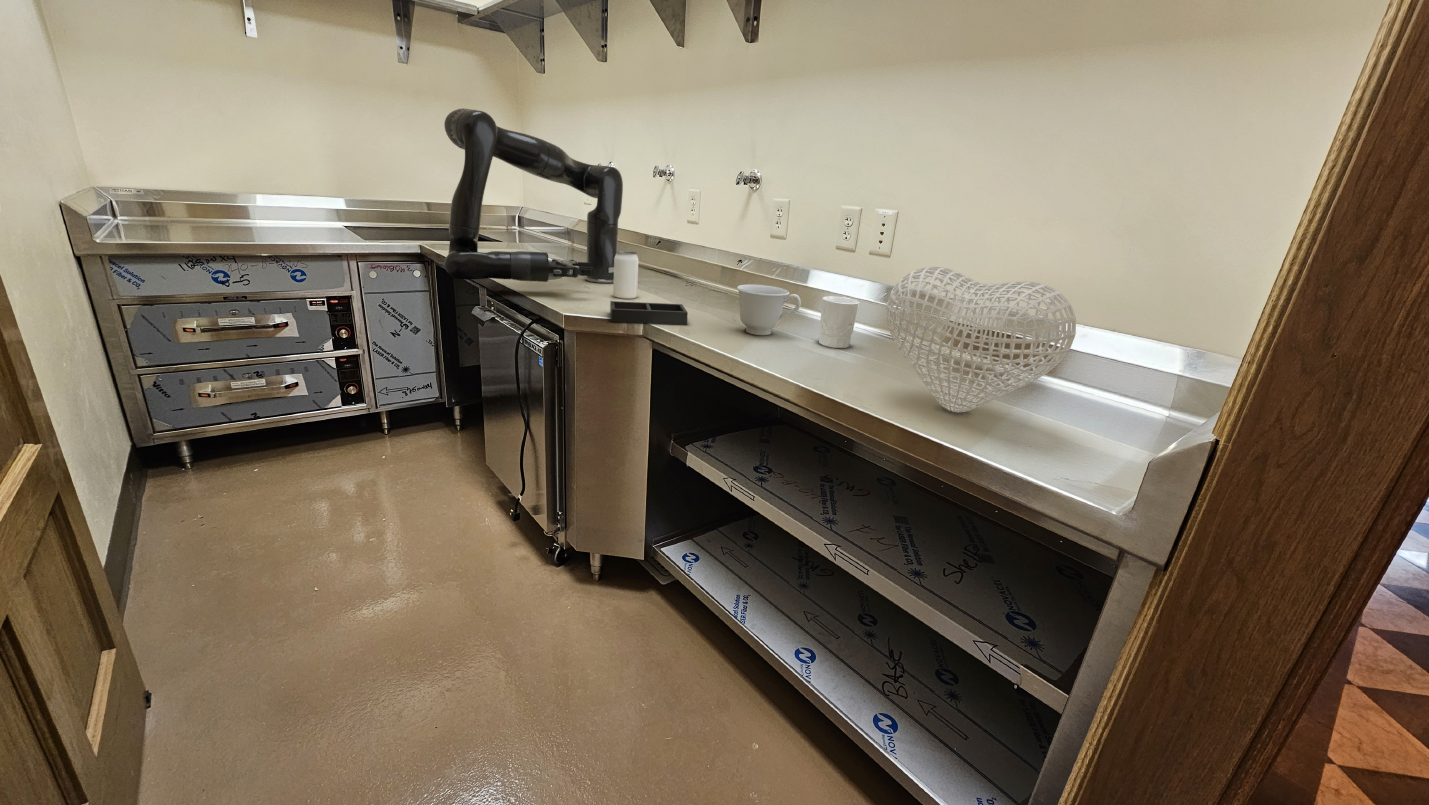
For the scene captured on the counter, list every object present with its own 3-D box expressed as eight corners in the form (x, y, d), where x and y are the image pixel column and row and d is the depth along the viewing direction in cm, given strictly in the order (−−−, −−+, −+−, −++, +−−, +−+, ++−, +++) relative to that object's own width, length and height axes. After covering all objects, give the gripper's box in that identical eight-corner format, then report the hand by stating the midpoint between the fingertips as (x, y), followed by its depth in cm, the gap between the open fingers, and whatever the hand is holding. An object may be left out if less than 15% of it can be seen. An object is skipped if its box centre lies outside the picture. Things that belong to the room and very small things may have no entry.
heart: (1058, 427, 96) (1100, 287, 88) (1026, 452, 85) (1071, 295, 78) (897, 380, 114) (920, 259, 106) (853, 395, 103) (876, 262, 95)
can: (610, 294, 168) (611, 250, 164) (632, 294, 171) (634, 251, 167) (617, 299, 163) (618, 253, 159) (640, 299, 166) (642, 254, 162)
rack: (610, 313, 146) (610, 300, 145) (681, 316, 150) (682, 304, 149) (611, 322, 138) (611, 309, 137) (686, 324, 142) (687, 312, 141)
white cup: (858, 346, 136) (865, 301, 133) (839, 351, 130) (846, 304, 127) (828, 338, 141) (835, 295, 137) (809, 342, 135) (815, 298, 132)
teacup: (790, 344, 133) (796, 298, 129) (725, 333, 137) (729, 289, 133) (801, 333, 144) (806, 290, 140) (740, 323, 148) (745, 282, 144)
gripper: (528, 255, 150) (595, 258, 154) (529, 248, 163) (590, 251, 167) (529, 285, 152) (595, 288, 157) (529, 276, 165) (590, 278, 170)
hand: (592, 269), depth 162 cm, fingers open, 8 cm apart
